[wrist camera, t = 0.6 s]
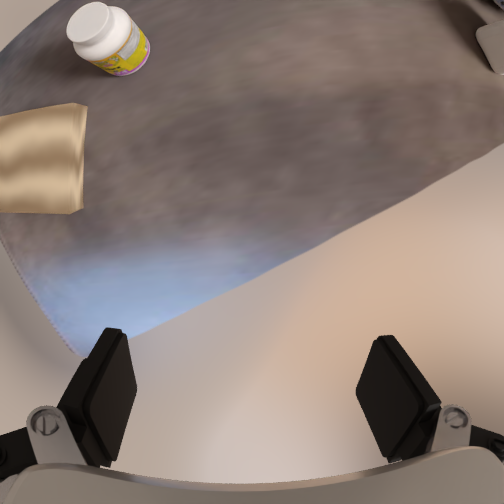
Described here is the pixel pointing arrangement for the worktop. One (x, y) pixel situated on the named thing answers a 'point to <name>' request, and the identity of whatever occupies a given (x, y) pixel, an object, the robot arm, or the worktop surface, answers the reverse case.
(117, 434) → the robot arm
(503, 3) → the ramen bowl
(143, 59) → the supplement bottle
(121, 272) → the worktop surface
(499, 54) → the soap bottle
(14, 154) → the block
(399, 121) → the worktop surface
